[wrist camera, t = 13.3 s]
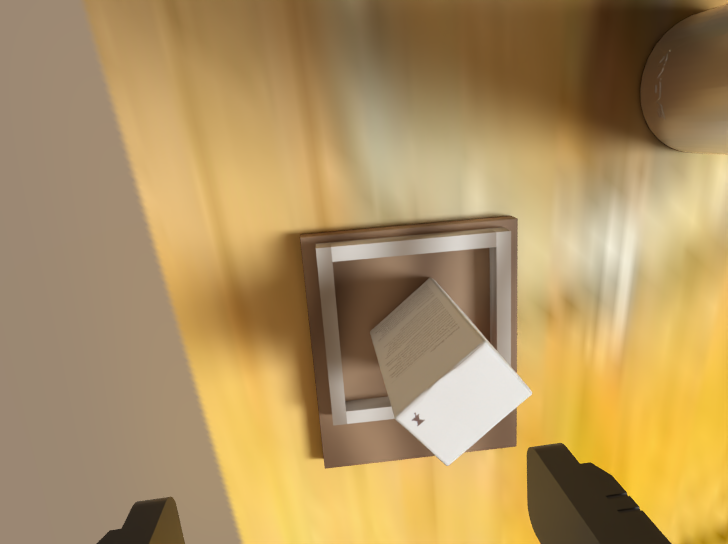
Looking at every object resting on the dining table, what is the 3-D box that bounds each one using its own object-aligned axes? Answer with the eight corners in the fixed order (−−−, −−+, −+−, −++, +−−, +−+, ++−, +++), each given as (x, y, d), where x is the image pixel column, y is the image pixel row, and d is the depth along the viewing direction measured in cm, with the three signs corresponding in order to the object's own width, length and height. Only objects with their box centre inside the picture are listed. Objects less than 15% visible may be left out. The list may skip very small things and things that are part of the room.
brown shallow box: (511, 215, 37) (525, 222, 35) (510, 437, 42) (523, 457, 39) (300, 234, 36) (299, 242, 34) (324, 459, 41) (325, 481, 38)
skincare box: (407, 369, 38) (445, 471, 27) (368, 330, 37) (390, 419, 26) (469, 314, 38) (536, 395, 26) (431, 273, 37) (483, 338, 25)
